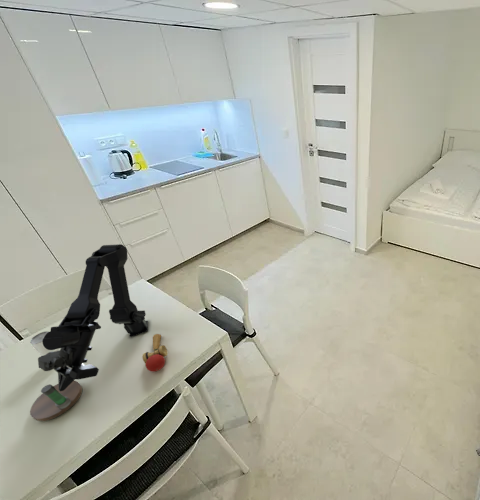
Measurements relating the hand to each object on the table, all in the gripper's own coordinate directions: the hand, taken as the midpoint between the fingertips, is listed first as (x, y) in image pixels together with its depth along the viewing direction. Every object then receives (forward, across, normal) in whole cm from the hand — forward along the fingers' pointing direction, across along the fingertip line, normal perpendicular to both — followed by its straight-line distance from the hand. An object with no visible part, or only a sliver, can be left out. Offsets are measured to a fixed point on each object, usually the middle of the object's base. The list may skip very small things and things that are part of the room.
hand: (61, 390), depth 93 cm
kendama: (-12, +11, +22) cm, 27 cm away
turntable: (+6, -4, +3) cm, 8 cm away
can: (-1, -25, +11) cm, 27 cm away
